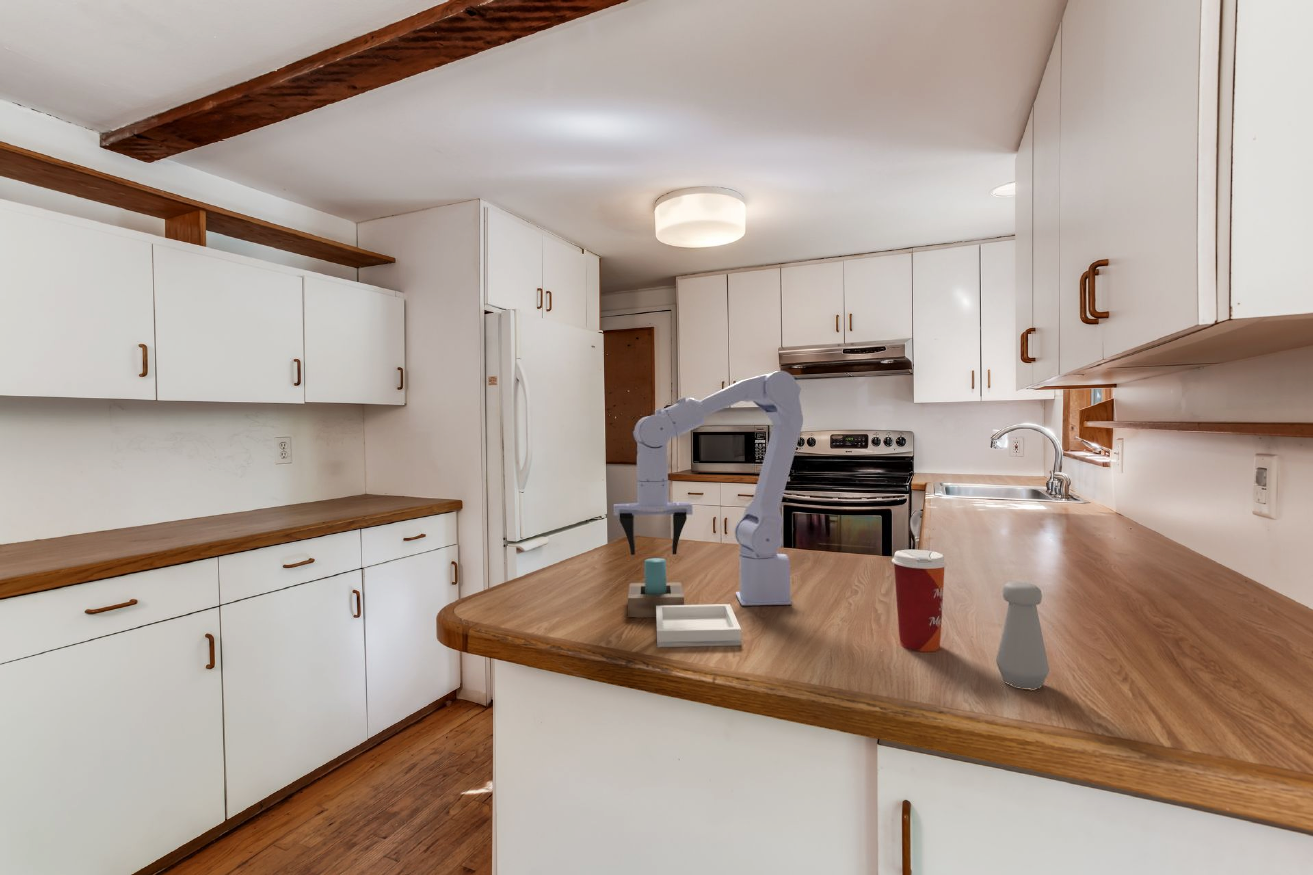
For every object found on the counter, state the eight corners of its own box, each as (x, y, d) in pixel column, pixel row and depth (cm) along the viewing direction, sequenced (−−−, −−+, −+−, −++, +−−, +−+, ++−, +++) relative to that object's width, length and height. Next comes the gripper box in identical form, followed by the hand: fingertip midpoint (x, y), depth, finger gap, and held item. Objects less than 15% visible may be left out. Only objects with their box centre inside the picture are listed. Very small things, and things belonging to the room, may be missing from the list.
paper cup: (954, 656, 87) (953, 560, 87) (897, 653, 88) (896, 558, 88) (939, 637, 94) (939, 549, 94) (888, 634, 96) (887, 547, 96)
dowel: (666, 605, 114) (665, 558, 114) (667, 611, 110) (666, 562, 110) (645, 605, 114) (644, 558, 114) (645, 612, 110) (644, 563, 110)
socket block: (681, 600, 117) (681, 582, 117) (684, 616, 107) (683, 597, 107) (630, 601, 117) (629, 583, 117) (628, 617, 107) (627, 598, 107)
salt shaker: (986, 675, 80) (985, 578, 80) (1027, 673, 81) (1026, 577, 80) (1016, 694, 74) (1015, 590, 74) (1059, 692, 75) (1059, 588, 75)
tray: (730, 618, 106) (729, 604, 106) (741, 645, 93) (741, 629, 93) (656, 619, 105) (656, 605, 105) (657, 647, 92) (657, 631, 92)
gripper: (611, 483, 107) (613, 558, 107) (692, 482, 107) (693, 557, 107) (614, 479, 114) (615, 550, 114) (690, 478, 114) (691, 549, 114)
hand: (653, 553), depth 111 cm, fingers open, 7 cm apart
